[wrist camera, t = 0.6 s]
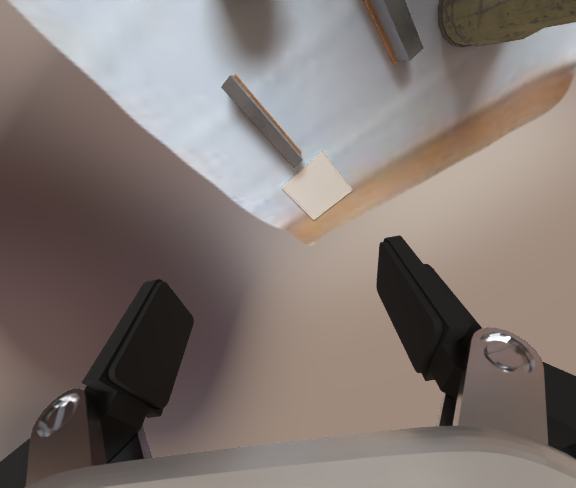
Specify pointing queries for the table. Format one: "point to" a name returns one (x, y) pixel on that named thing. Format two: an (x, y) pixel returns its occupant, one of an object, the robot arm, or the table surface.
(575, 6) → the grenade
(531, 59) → the table surface
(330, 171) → the pad
